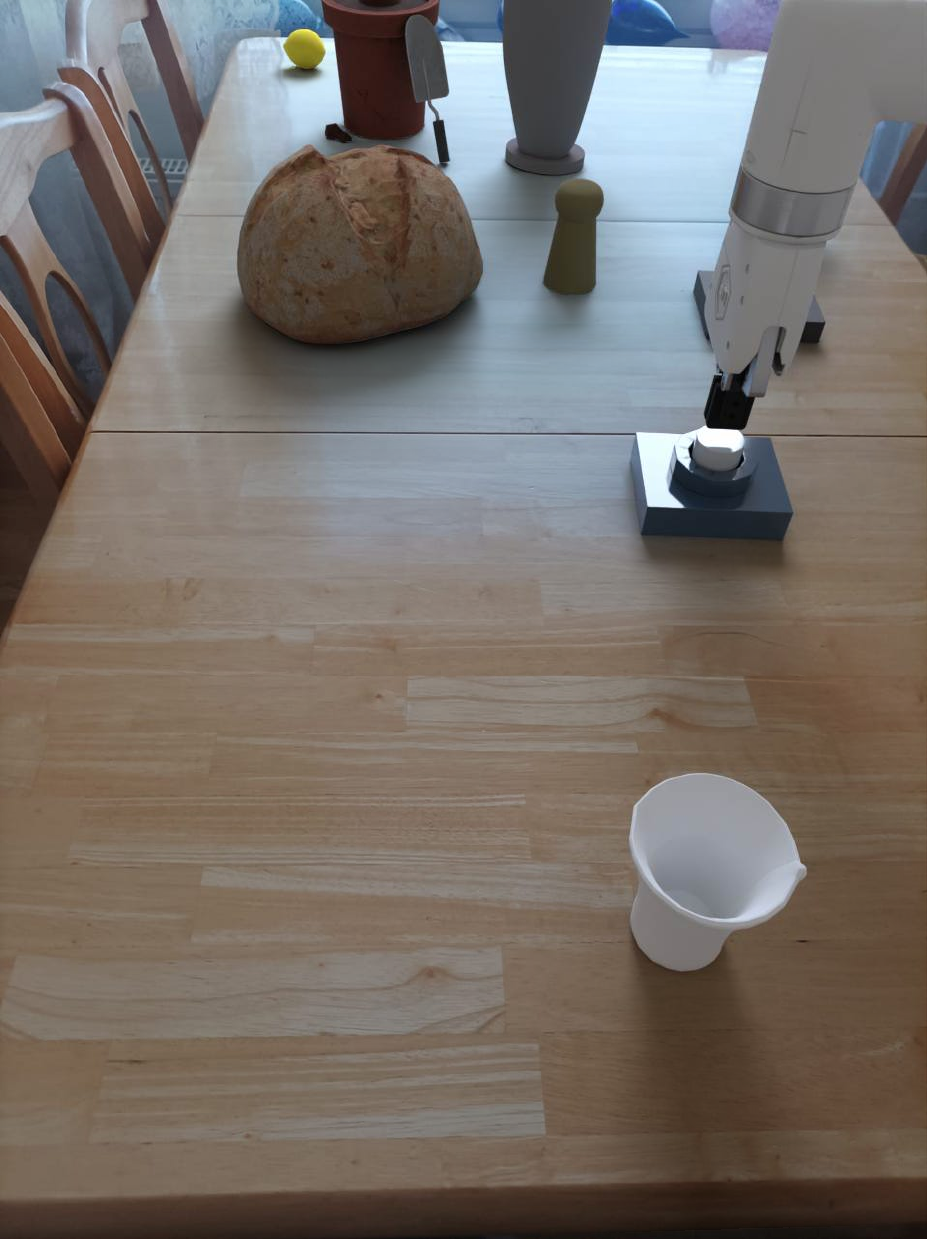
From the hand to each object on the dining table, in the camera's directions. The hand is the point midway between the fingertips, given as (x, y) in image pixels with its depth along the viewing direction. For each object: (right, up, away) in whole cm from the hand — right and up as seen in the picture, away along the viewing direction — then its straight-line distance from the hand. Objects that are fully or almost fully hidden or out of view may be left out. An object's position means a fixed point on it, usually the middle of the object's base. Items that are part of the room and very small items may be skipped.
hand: (723, 423), depth 76 cm
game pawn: (-9, +23, +31) cm, 39 cm away
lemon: (-46, +72, +73) cm, 113 cm away
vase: (-10, +47, +52) cm, 71 cm away
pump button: (0, -2, +3) cm, 4 cm away
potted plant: (-32, +53, +57) cm, 85 cm away
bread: (-32, +20, +27) cm, 47 cm away
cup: (-8, -34, -20) cm, 40 cm away
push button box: (0, -5, +6) cm, 8 cm away
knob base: (+11, +17, +27) cm, 34 cm away
